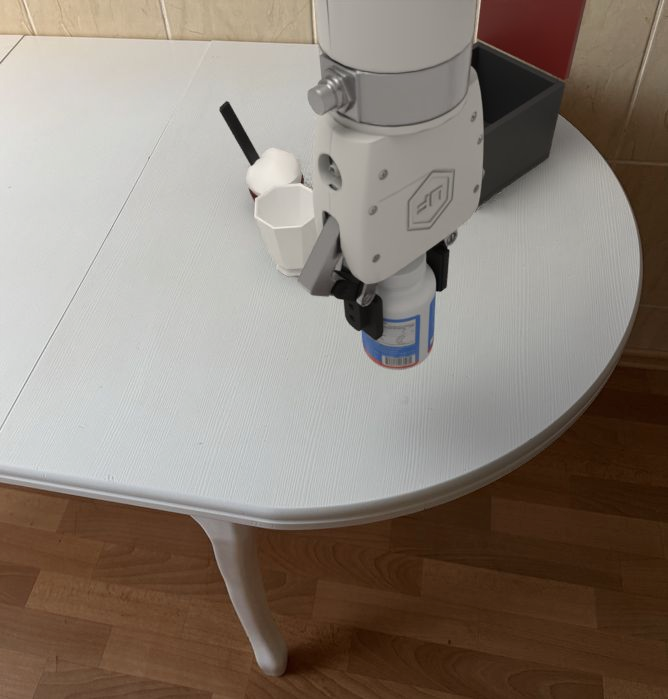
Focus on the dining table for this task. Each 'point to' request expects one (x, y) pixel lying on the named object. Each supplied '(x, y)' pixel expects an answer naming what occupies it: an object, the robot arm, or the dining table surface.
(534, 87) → the dark open-top bin
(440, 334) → the dining table surface
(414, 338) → the pill bottle
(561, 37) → the bin lid
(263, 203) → the cup
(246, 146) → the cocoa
